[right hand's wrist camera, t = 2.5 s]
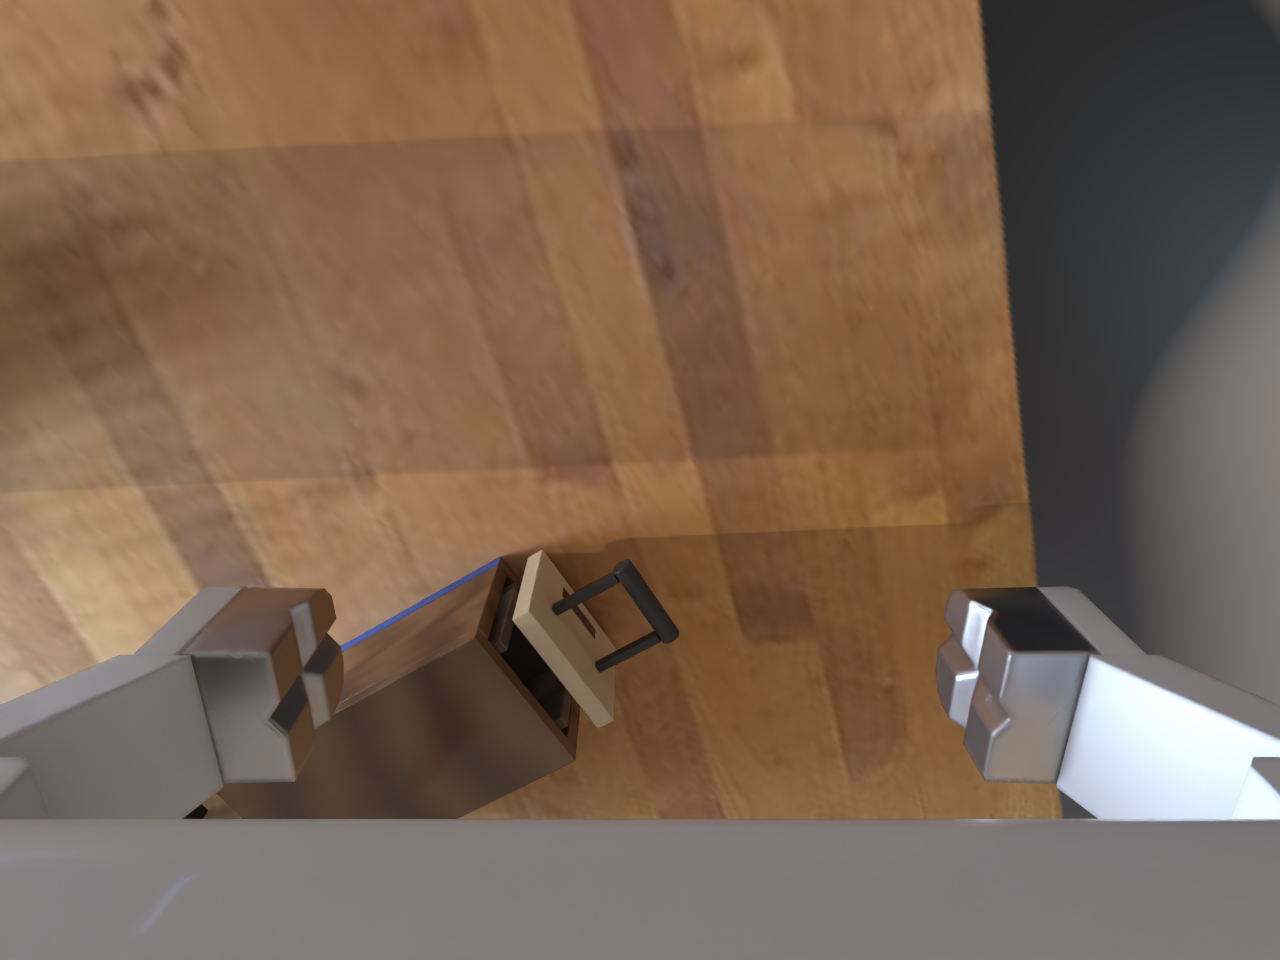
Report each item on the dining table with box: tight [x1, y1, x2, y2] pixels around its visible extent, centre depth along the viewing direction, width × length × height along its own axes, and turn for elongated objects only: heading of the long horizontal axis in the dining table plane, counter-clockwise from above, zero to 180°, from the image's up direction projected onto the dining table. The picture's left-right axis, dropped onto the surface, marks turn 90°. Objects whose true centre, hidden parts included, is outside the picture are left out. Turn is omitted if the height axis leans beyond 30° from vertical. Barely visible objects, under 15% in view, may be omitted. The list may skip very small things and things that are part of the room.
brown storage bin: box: [216, 557, 580, 819], centre depth 51 cm, size 20×10×10 cm, turn 121°
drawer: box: [488, 550, 679, 730], centre depth 50 cm, size 24×9×8 cm, turn 121°
